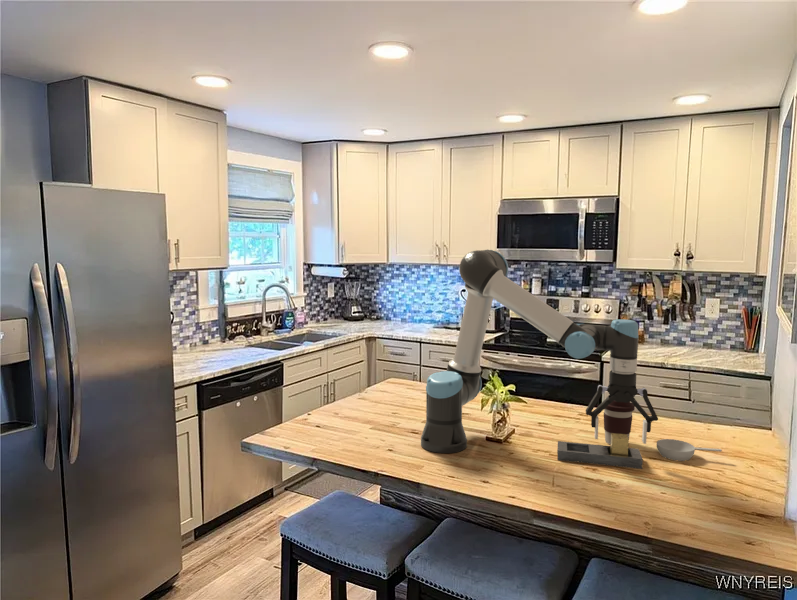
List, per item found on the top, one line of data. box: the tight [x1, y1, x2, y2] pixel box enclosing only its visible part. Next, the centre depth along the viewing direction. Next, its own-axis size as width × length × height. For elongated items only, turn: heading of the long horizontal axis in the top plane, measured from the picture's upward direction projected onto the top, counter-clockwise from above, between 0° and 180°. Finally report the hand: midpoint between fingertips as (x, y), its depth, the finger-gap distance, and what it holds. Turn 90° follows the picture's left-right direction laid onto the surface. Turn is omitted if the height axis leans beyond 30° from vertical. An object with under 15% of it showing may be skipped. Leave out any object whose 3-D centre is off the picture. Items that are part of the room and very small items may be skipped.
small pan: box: [656, 438, 723, 462], centre depth 171 cm, size 11×18×4 cm, turn 68°
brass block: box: [610, 433, 630, 456], centre depth 167 cm, size 4×4×8 cm
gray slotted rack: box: [556, 440, 644, 470], centre depth 169 cm, size 24×8×3 cm, turn 74°
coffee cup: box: [603, 401, 636, 446], centre depth 182 cm, size 10×10×15 cm
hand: (619, 440), depth 167 cm, fingers open, 13 cm apart
